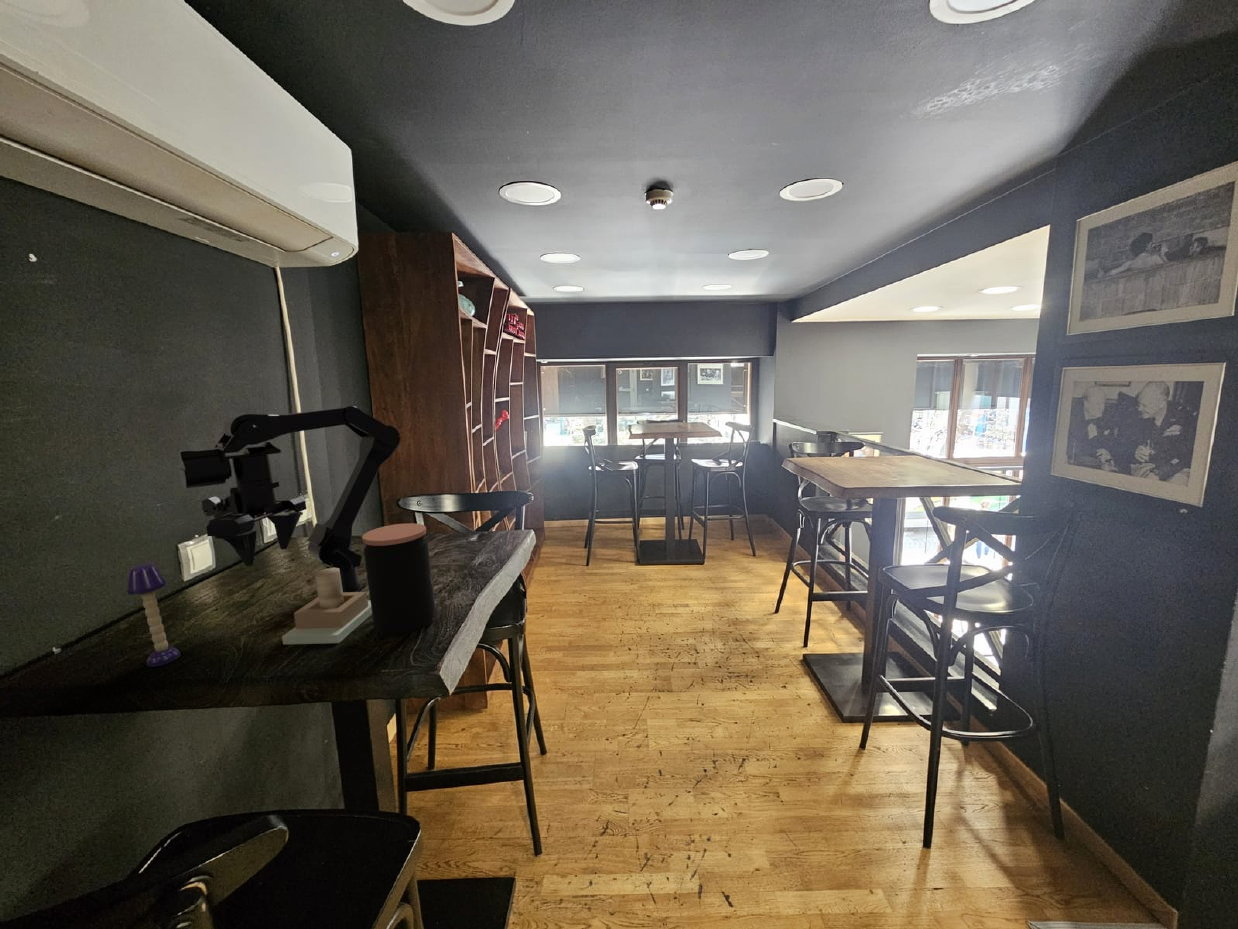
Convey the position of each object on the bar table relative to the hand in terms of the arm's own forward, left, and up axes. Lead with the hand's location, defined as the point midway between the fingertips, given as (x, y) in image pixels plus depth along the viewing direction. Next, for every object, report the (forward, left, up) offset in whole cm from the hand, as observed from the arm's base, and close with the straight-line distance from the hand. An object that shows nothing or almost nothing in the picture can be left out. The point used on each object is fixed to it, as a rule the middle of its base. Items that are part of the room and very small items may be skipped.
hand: (267, 557), depth 96 cm
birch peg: (+5, +15, -10) cm, 19 cm away
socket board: (+5, +15, -12) cm, 20 cm away
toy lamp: (+16, -8, -12) cm, 22 cm away
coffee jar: (+6, +29, -12) cm, 32 cm away
